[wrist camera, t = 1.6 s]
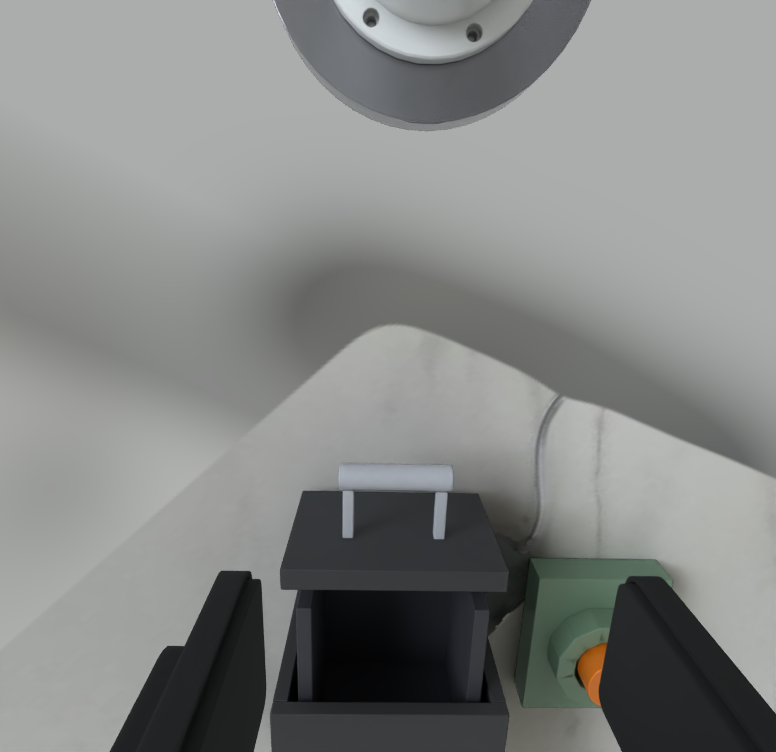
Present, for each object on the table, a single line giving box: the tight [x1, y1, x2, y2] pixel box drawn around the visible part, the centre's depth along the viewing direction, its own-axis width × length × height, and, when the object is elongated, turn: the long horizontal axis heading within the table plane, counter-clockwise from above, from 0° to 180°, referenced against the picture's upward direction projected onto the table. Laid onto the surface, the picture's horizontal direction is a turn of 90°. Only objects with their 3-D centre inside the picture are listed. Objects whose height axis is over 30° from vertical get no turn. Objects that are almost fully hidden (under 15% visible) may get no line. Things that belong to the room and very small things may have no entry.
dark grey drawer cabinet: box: [270, 590, 509, 752], centre depth 32 cm, size 15×13×10 cm
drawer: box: [280, 463, 509, 703], centre depth 29 cm, size 18×11×8 cm, turn 178°
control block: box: [514, 558, 673, 708], centre depth 34 cm, size 11×9×4 cm
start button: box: [578, 643, 607, 707], centre depth 32 cm, size 4×4×2 cm
